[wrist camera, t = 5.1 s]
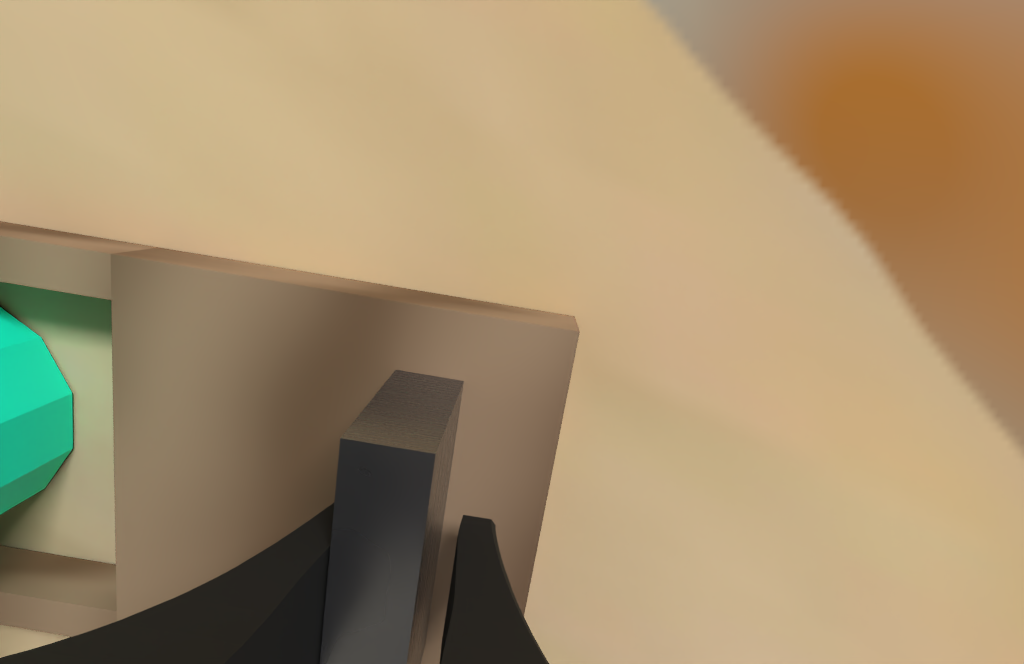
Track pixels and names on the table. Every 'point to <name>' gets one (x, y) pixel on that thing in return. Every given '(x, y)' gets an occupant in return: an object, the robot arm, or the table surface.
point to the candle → (30, 414)
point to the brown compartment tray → (299, 437)
